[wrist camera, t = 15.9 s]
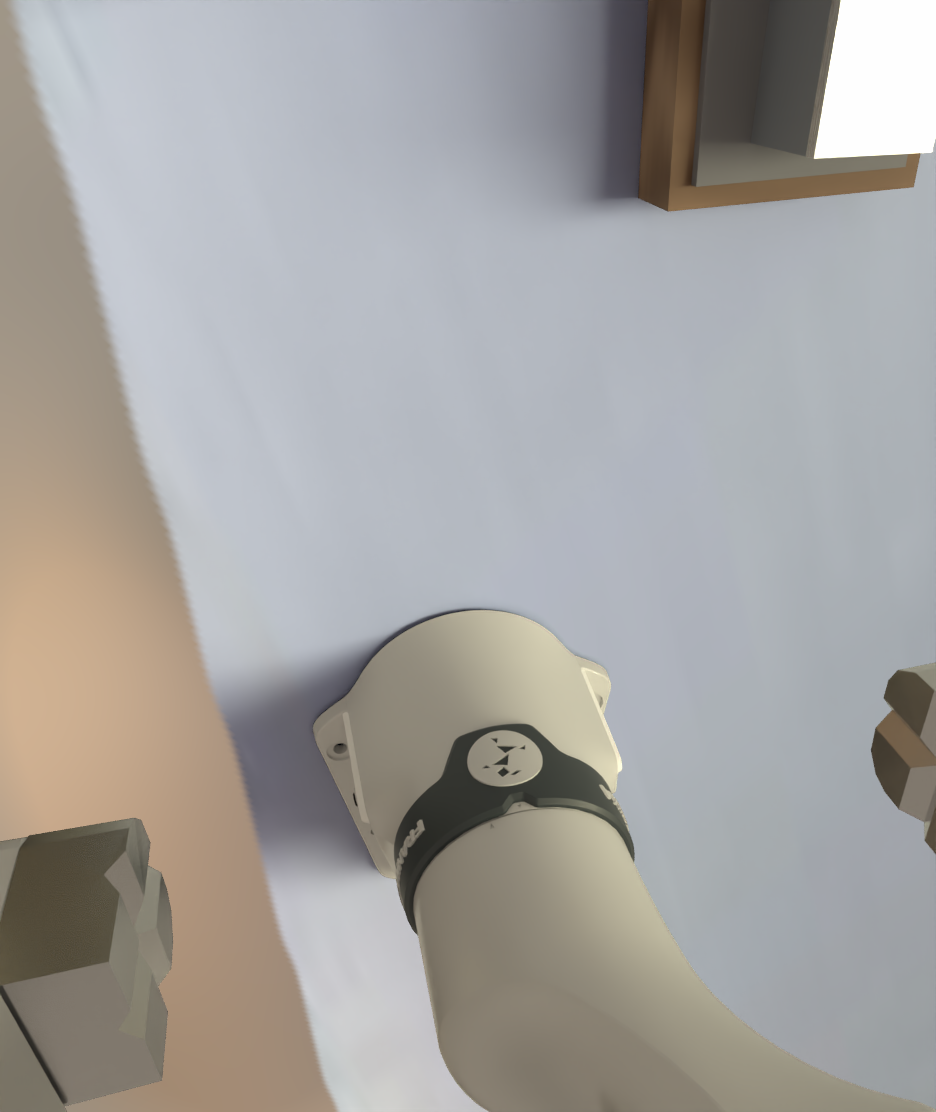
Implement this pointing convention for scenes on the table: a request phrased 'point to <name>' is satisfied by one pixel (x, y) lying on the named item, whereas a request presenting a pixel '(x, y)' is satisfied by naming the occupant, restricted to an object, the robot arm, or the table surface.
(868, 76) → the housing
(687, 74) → the wooden tray
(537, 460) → the table surface
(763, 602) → the table surface
